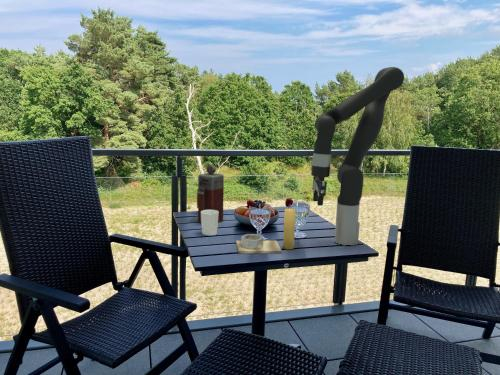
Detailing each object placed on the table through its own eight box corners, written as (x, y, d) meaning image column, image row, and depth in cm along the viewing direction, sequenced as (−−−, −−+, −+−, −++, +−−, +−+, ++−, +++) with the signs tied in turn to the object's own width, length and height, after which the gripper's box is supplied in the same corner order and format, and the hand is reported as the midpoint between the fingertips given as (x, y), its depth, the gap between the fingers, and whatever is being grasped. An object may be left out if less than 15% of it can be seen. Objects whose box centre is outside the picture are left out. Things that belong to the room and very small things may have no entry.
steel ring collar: (261, 242, 181) (261, 234, 180) (264, 249, 173) (264, 240, 172) (240, 242, 180) (240, 234, 179) (242, 249, 172) (242, 240, 171)
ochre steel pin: (292, 245, 181) (294, 208, 177) (294, 249, 176) (296, 211, 173) (282, 245, 180) (283, 208, 177) (284, 249, 176) (285, 211, 173)
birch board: (276, 242, 184) (276, 240, 184) (281, 253, 171) (281, 250, 171) (236, 242, 182) (236, 240, 182) (238, 253, 170) (238, 251, 169)
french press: (194, 222, 211) (194, 165, 205) (209, 217, 220) (209, 162, 214) (208, 225, 206) (209, 167, 200) (223, 220, 215) (224, 164, 210)
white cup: (202, 236, 190) (202, 214, 188) (199, 231, 197) (199, 209, 195) (219, 235, 192) (220, 213, 190) (216, 230, 199) (216, 209, 197)
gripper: (334, 167, 172) (330, 207, 175) (326, 163, 186) (322, 200, 189) (315, 166, 171) (312, 206, 174) (308, 162, 185) (305, 199, 188)
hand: (317, 203), depth 182 cm, fingers open, 8 cm apart
